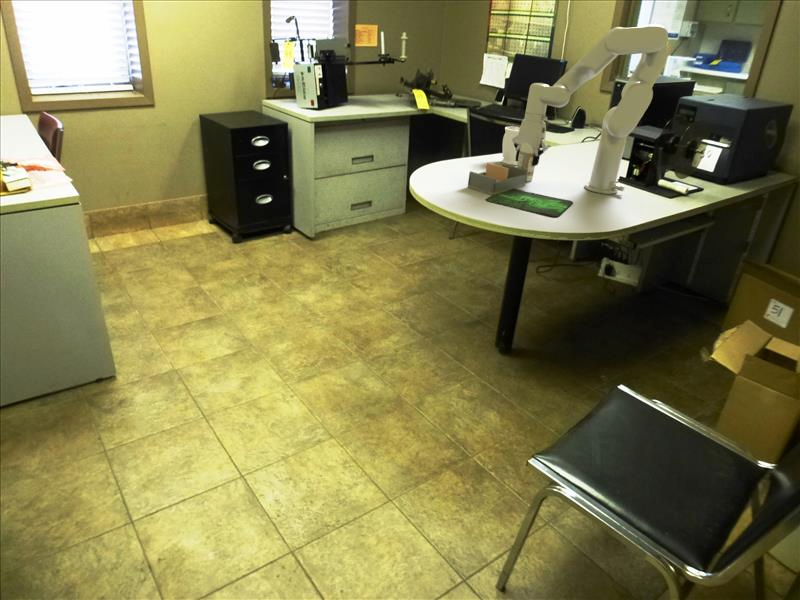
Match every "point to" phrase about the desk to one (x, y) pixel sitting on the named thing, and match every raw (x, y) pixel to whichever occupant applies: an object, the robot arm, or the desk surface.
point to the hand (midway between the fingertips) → (526, 162)
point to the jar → (509, 145)
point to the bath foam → (526, 160)
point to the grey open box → (492, 187)
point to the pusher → (496, 172)
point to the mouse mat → (531, 202)
